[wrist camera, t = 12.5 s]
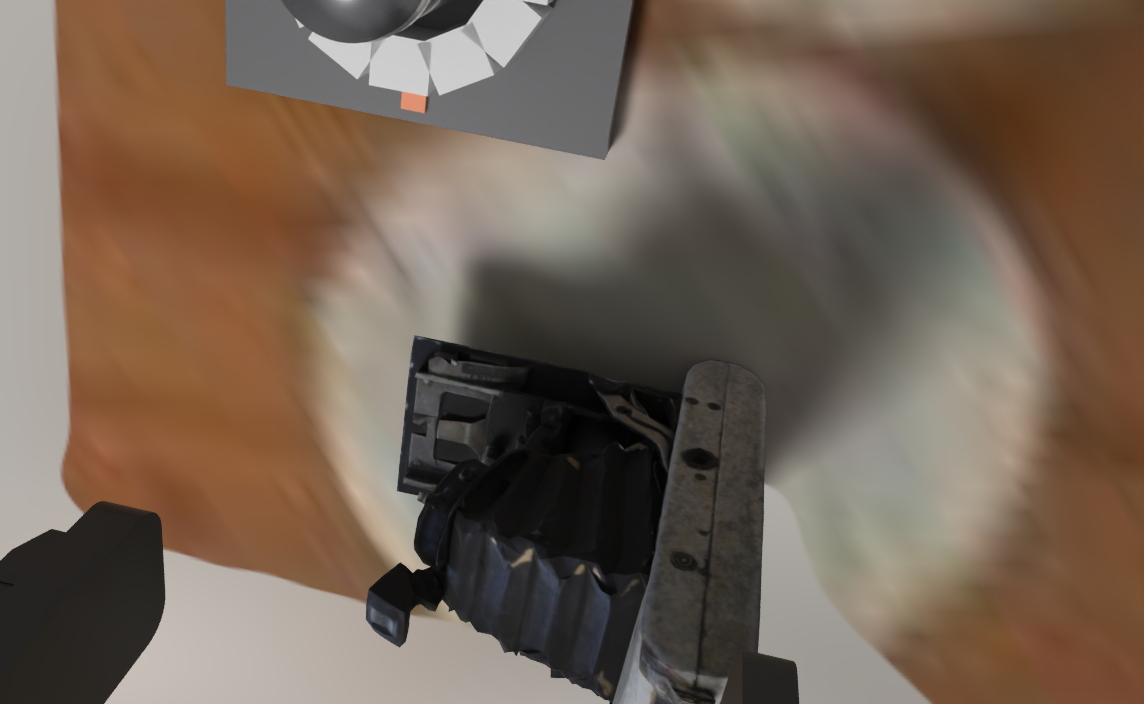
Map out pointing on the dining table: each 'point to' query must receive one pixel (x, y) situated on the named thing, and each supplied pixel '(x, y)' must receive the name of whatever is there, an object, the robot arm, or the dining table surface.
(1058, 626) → the dining table surface
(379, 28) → the lens
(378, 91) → the mount
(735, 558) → the vintage camera
